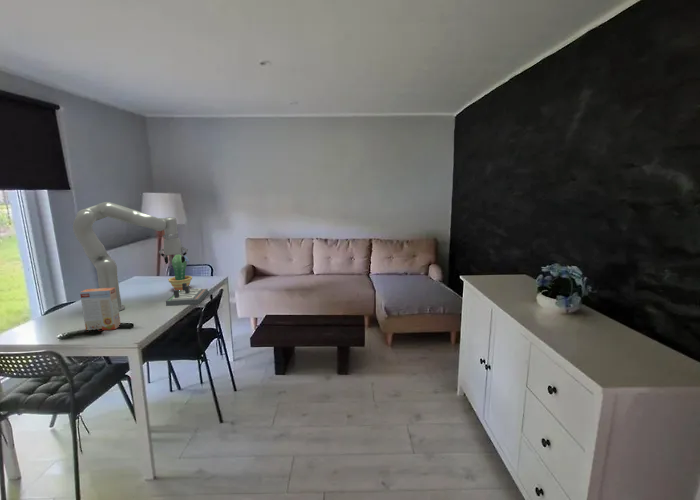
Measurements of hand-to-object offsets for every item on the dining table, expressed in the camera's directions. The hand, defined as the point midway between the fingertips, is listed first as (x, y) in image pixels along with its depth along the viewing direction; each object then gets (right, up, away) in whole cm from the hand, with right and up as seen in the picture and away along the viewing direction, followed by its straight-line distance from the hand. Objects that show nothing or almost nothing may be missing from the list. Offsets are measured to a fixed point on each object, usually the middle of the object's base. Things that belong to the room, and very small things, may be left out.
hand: (175, 262), depth 229 cm
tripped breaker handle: (+9, -19, -3) cm, 21 cm away
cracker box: (-13, -32, -48) cm, 59 cm away
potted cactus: (-6, -20, +22) cm, 30 cm away
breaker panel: (+9, -23, -2) cm, 25 cm away
